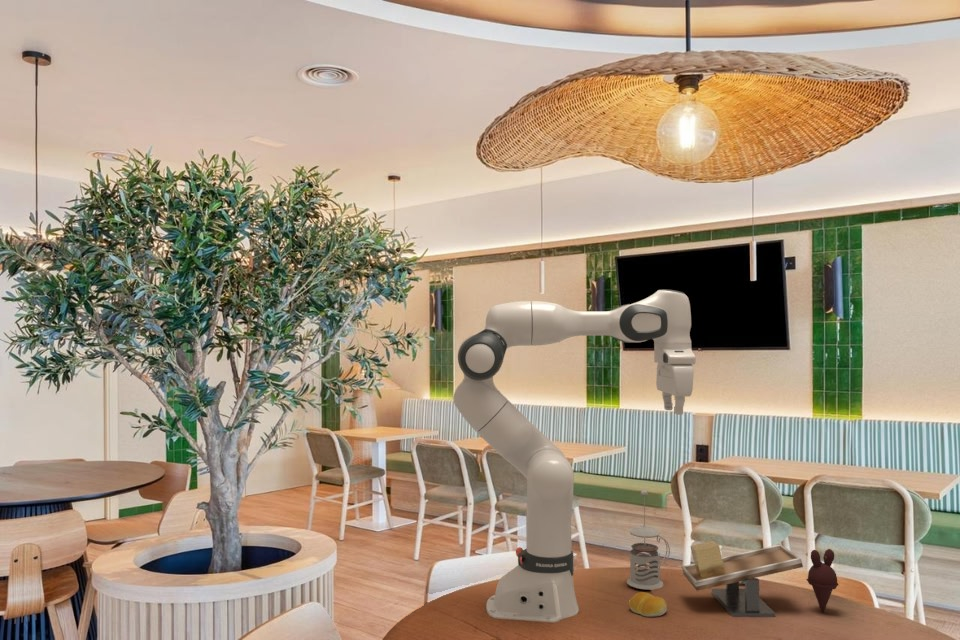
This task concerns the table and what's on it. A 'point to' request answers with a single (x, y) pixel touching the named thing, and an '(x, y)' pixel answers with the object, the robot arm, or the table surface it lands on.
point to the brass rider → (707, 559)
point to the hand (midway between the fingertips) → (673, 412)
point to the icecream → (822, 577)
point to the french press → (645, 558)
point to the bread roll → (647, 604)
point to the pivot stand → (743, 600)
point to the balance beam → (746, 566)
